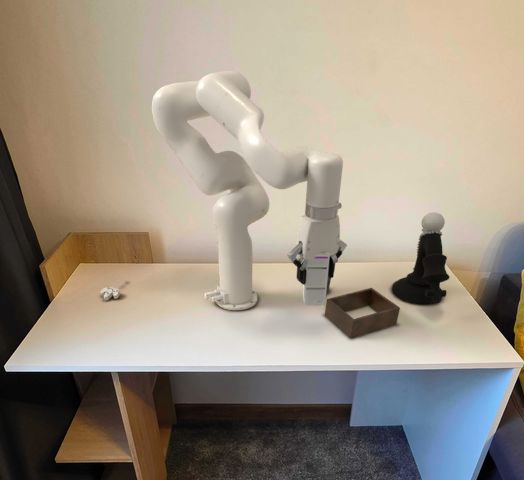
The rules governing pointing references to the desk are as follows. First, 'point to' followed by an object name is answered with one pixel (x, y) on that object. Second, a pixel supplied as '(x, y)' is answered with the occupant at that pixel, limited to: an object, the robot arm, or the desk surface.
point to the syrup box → (316, 280)
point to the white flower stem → (110, 293)
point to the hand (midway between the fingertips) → (315, 278)
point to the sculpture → (425, 266)
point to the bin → (365, 324)
